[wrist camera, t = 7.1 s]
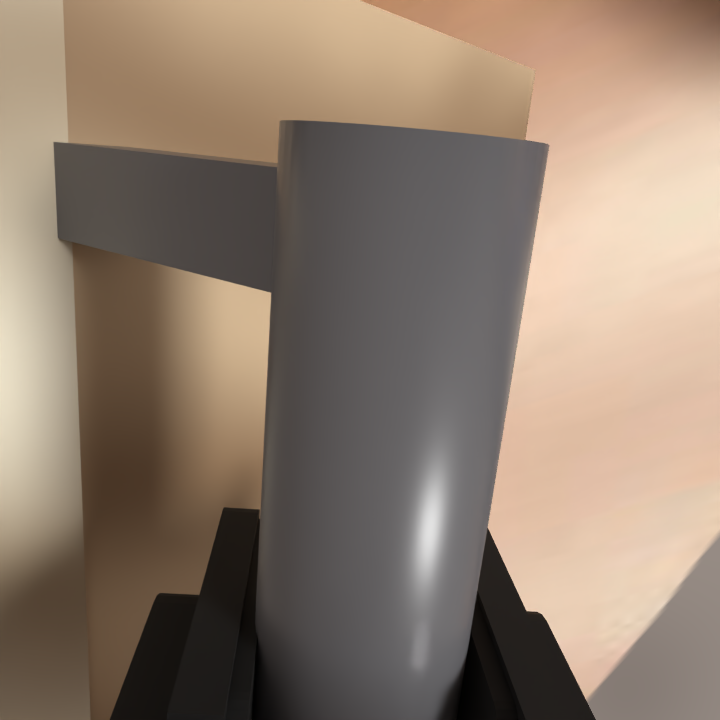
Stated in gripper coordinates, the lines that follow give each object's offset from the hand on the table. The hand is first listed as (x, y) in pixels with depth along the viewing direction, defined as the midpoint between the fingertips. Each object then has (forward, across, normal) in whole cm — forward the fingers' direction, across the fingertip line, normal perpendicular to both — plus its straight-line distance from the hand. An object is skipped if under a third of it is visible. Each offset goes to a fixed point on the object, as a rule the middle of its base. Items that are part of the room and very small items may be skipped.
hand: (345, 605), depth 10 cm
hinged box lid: (+6, +1, 0) cm, 6 cm away
